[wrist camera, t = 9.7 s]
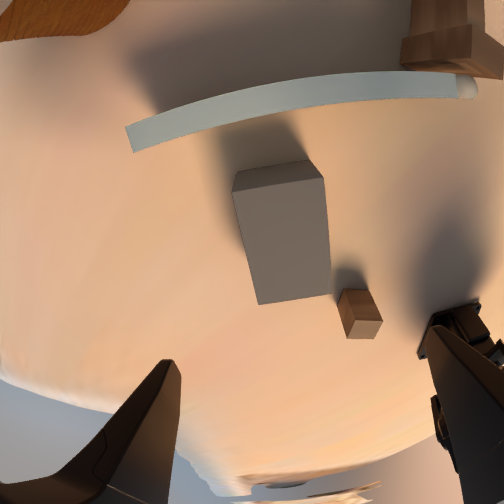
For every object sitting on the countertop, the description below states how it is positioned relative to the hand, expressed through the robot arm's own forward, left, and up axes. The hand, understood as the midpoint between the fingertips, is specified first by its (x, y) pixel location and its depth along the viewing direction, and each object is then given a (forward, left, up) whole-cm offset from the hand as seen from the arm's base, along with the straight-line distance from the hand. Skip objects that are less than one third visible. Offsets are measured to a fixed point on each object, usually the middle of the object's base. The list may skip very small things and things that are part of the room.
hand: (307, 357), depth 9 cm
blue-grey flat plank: (+8, -2, -11) cm, 13 cm away
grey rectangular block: (0, 0, -11) cm, 11 cm away
